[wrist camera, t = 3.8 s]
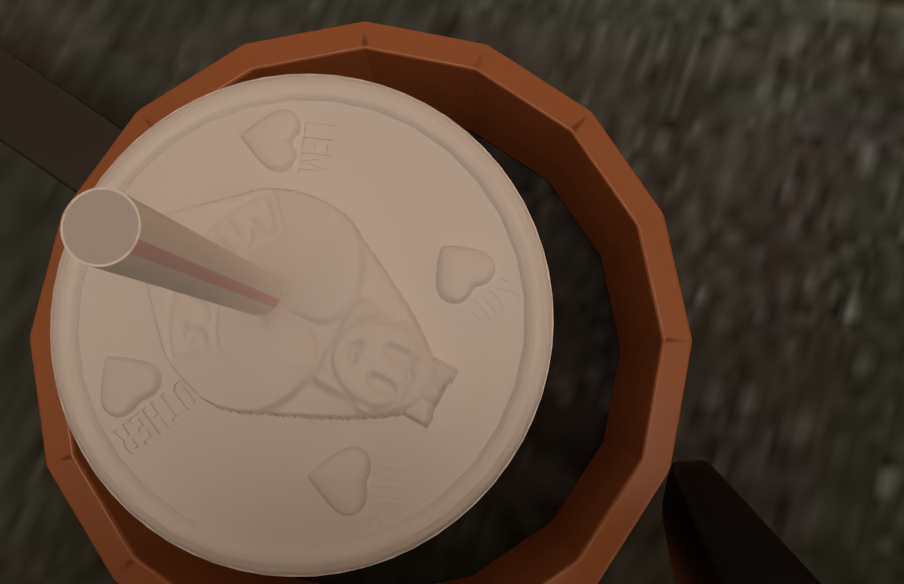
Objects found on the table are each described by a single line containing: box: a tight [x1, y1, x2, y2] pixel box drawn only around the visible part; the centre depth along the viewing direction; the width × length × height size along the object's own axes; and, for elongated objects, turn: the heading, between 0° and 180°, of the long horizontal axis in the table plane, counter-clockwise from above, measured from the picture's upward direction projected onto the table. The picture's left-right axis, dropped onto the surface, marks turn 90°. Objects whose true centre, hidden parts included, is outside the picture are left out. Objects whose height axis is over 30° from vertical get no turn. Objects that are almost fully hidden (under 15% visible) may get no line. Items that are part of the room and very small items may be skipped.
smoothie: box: [50, 74, 554, 577], centre depth 12 cm, size 6×6×14 cm
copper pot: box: [0, 21, 692, 584], centre depth 17 cm, size 20×13×4 cm, turn 56°
